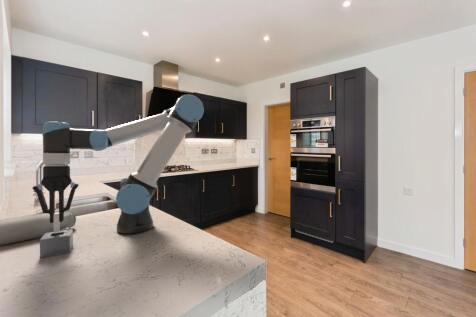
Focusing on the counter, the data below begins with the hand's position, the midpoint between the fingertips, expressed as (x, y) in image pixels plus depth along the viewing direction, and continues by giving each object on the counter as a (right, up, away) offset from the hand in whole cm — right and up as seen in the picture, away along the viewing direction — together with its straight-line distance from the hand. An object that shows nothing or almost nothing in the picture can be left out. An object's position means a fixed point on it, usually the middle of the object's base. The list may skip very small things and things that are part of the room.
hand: (56, 231), depth 80 cm
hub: (0, -7, 0) cm, 7 cm away
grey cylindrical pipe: (-30, -3, +3) cm, 30 cm away
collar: (0, -7, 0) cm, 7 cm away
